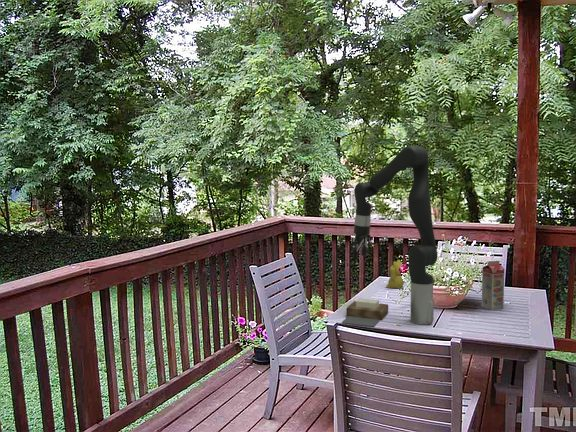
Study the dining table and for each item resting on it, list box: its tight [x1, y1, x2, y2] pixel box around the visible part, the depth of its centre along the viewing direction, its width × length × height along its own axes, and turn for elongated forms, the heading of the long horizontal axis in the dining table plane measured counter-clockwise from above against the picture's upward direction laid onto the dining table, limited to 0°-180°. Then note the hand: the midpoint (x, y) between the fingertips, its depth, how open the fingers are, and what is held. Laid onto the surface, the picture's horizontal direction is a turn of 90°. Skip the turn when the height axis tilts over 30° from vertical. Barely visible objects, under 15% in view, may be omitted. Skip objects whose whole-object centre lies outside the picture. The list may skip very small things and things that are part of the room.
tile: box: [355, 297, 380, 309], centre depth 222 cm, size 9×6×2 cm, turn 66°
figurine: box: [386, 259, 405, 289], centre depth 271 cm, size 11×9×15 cm
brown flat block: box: [345, 300, 389, 321], centre depth 223 cm, size 16×12×4 cm
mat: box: [341, 316, 380, 328], centre depth 213 cm, size 14×10×1 cm
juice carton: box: [481, 260, 505, 311], centre depth 230 cm, size 7×7×22 cm
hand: (359, 256), depth 239 cm, fingers open, 8 cm apart
